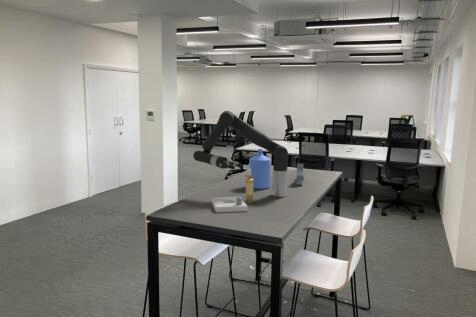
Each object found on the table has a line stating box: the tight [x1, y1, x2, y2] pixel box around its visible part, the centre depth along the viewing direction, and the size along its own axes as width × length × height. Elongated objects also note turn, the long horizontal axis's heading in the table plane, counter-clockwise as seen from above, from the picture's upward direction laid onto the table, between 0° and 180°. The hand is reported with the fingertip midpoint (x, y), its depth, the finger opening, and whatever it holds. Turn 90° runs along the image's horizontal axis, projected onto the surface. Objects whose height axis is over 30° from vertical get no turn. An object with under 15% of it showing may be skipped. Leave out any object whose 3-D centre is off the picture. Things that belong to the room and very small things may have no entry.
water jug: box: [248, 148, 272, 190], centre depth 281 cm, size 16×16×28 cm
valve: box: [244, 174, 254, 205], centre depth 236 cm, size 6×5×17 cm
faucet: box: [295, 163, 305, 186], centre depth 300 cm, size 6×17×30 cm
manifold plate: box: [211, 196, 248, 213], centre depth 228 cm, size 22×18×7 cm
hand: (238, 167), depth 240 cm, fingers open, 8 cm apart
